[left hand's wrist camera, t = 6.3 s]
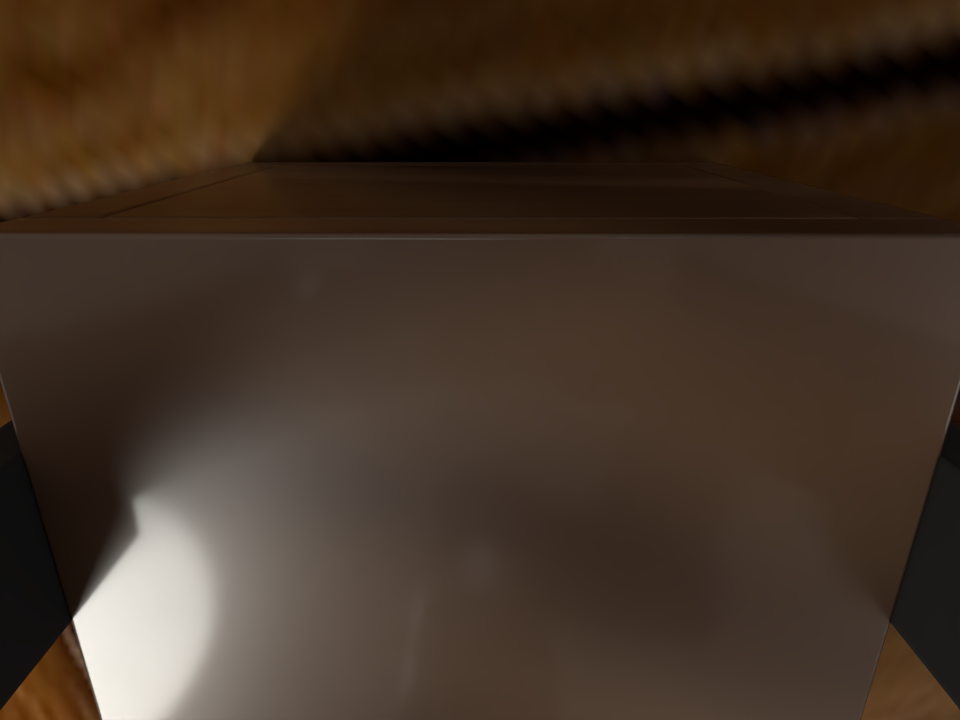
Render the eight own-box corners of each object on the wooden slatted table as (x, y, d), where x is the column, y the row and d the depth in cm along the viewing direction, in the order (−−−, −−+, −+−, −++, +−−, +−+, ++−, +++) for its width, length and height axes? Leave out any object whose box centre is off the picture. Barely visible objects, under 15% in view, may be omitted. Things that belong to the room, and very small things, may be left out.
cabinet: (640, 742, 23) (738, 1136, 14) (320, 742, 23) (221, 1134, 15) (714, 161, 16) (1010, 233, 7) (247, 161, 16) (-48, 232, 7)
